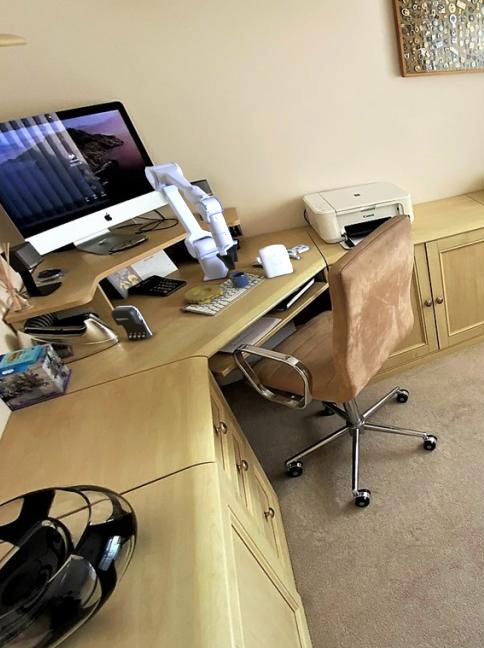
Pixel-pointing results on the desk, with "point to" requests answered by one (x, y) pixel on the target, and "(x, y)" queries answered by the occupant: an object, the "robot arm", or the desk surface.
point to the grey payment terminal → (132, 322)
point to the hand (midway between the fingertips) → (233, 265)
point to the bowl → (239, 279)
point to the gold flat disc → (203, 294)
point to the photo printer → (275, 260)
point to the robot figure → (291, 252)
